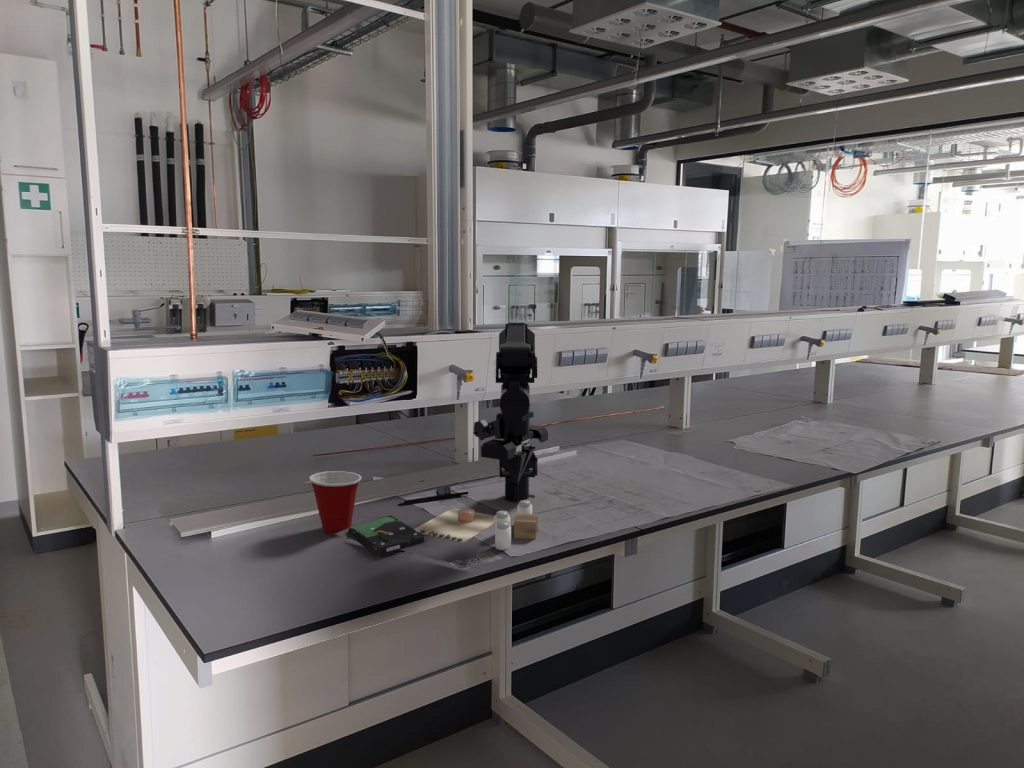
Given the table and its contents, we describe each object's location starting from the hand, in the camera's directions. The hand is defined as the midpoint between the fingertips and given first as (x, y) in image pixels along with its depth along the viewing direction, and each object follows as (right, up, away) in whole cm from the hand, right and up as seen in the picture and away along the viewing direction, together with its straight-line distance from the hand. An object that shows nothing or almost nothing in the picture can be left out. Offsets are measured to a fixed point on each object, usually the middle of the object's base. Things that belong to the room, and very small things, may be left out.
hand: (515, 482), depth 148 cm
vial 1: (-3, -12, +1) cm, 12 cm away
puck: (-11, -10, +10) cm, 18 cm away
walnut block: (+2, -12, +2) cm, 12 cm away
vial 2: (-3, -13, -4) cm, 14 cm away
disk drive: (-27, -13, +1) cm, 30 cm away
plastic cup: (-38, -11, +7) cm, 41 cm away
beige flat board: (-13, -11, +8) cm, 18 cm away
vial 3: (+2, -11, +8) cm, 14 cm away
